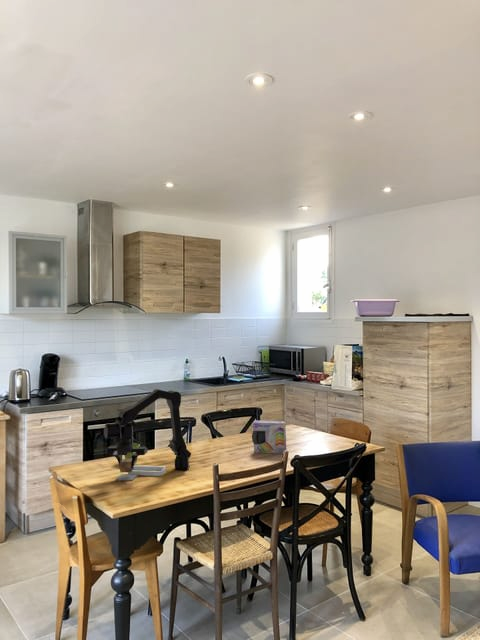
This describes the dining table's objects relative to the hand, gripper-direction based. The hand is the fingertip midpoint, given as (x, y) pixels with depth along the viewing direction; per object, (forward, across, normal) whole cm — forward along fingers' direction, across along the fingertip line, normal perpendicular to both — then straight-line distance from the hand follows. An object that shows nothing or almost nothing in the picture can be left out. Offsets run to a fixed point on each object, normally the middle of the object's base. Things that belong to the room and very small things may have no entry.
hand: (126, 468), depth 246 cm
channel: (+4, +7, +9) cm, 12 cm away
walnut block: (+1, 0, 0) cm, 1 cm away
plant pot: (+5, -7, +28) cm, 29 cm away
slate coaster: (+4, 0, 0) cm, 5 cm away
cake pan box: (+5, +65, +54) cm, 85 cm away
